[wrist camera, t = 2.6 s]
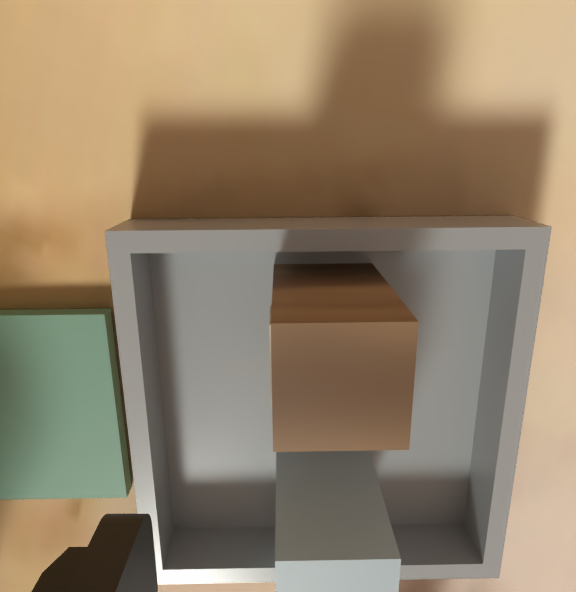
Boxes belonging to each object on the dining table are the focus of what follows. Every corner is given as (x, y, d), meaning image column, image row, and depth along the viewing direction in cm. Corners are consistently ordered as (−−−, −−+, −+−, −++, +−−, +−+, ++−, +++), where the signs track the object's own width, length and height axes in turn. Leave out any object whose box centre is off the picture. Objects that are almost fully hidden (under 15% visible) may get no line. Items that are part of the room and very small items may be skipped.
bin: (130, 219, 20) (104, 231, 17) (512, 215, 20) (551, 226, 17) (161, 533, 24) (145, 584, 22) (473, 527, 25) (498, 577, 22)
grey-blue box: (276, 436, 22) (275, 561, 16) (364, 435, 22) (401, 558, 16) (277, 509, 23) (276, 655, 17) (361, 508, 23) (394, 652, 17)
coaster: (-102, 310, 21) (-117, 317, 20) (110, 308, 21) (104, 314, 20) (-58, 489, 23) (-69, 500, 23) (131, 486, 24) (127, 497, 23)
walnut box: (271, 264, 20) (267, 323, 13) (372, 263, 20) (418, 321, 13) (273, 355, 21) (270, 452, 14) (368, 353, 21) (409, 449, 14)
